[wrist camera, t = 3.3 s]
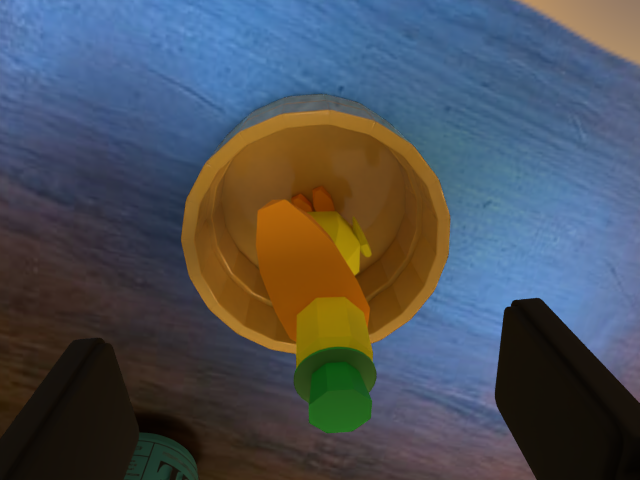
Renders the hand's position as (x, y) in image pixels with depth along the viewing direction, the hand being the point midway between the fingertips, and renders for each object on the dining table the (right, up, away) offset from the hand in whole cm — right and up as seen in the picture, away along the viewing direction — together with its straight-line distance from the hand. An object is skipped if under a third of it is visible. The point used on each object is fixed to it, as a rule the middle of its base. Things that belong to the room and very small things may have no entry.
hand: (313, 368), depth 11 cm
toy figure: (0, +5, +11) cm, 12 cm away
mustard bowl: (0, +5, +11) cm, 12 cm away
